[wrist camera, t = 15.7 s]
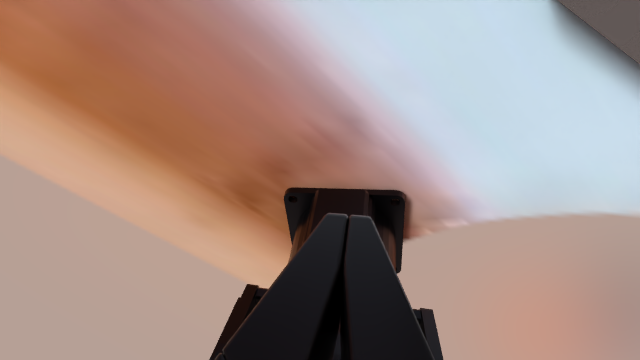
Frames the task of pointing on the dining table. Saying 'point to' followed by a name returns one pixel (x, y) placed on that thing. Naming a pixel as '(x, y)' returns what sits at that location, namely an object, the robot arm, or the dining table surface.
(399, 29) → the dining table surface
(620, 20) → the curvy grey metal tray
